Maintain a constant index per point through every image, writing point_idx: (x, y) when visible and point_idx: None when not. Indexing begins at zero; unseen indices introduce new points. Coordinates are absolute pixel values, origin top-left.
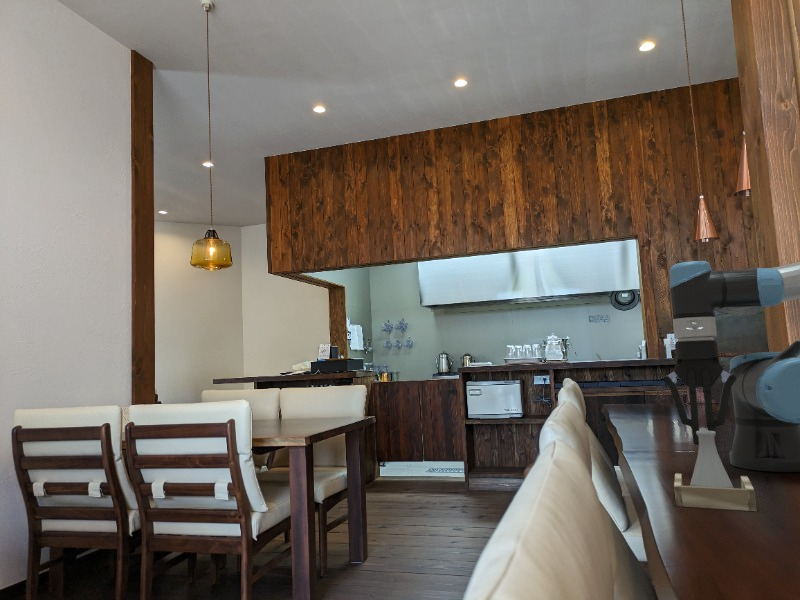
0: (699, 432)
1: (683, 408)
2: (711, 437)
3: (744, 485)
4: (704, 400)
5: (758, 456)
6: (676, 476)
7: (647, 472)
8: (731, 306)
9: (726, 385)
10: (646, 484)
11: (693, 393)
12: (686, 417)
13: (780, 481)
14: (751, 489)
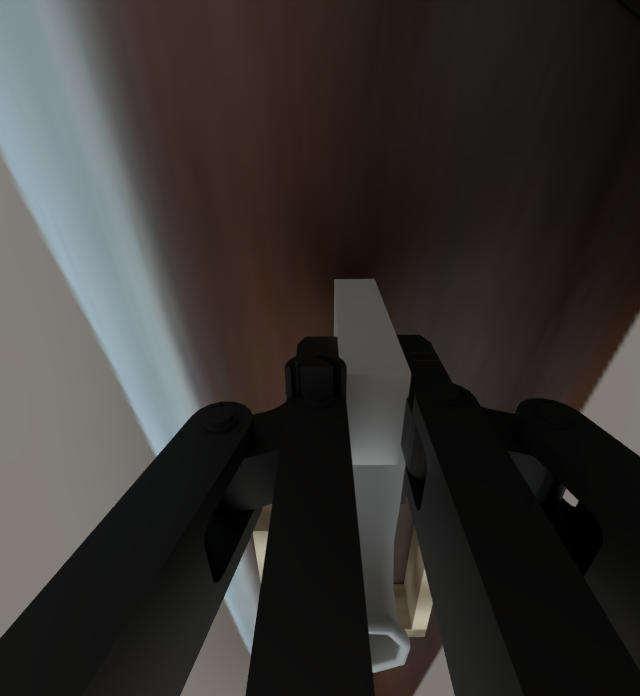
0: None
1: (201, 642)
2: (381, 639)
3: (416, 601)
4: (520, 685)
5: None
6: (261, 561)
7: (92, 210)
8: None
9: None
10: (165, 433)
11: None
12: (245, 538)
13: (610, 287)
14: (420, 631)
